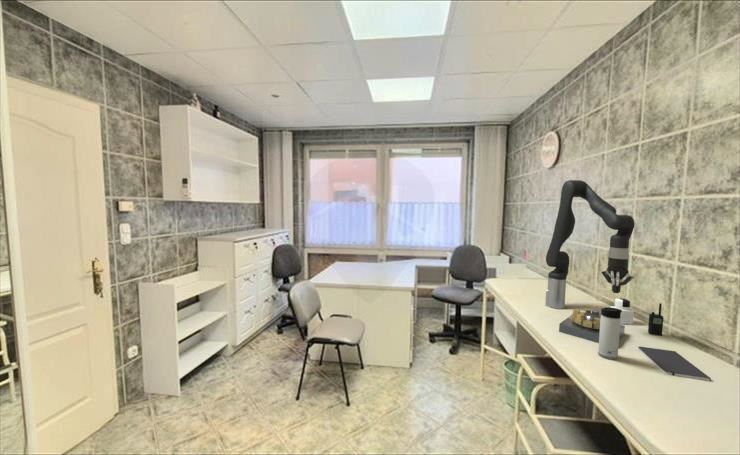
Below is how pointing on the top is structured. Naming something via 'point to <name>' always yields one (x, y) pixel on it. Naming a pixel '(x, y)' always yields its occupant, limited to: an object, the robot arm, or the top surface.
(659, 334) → the walkie-talkie
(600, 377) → the top surface
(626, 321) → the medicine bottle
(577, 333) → the domed button plate
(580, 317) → the segmented ring
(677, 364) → the notebook
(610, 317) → the travel mug
